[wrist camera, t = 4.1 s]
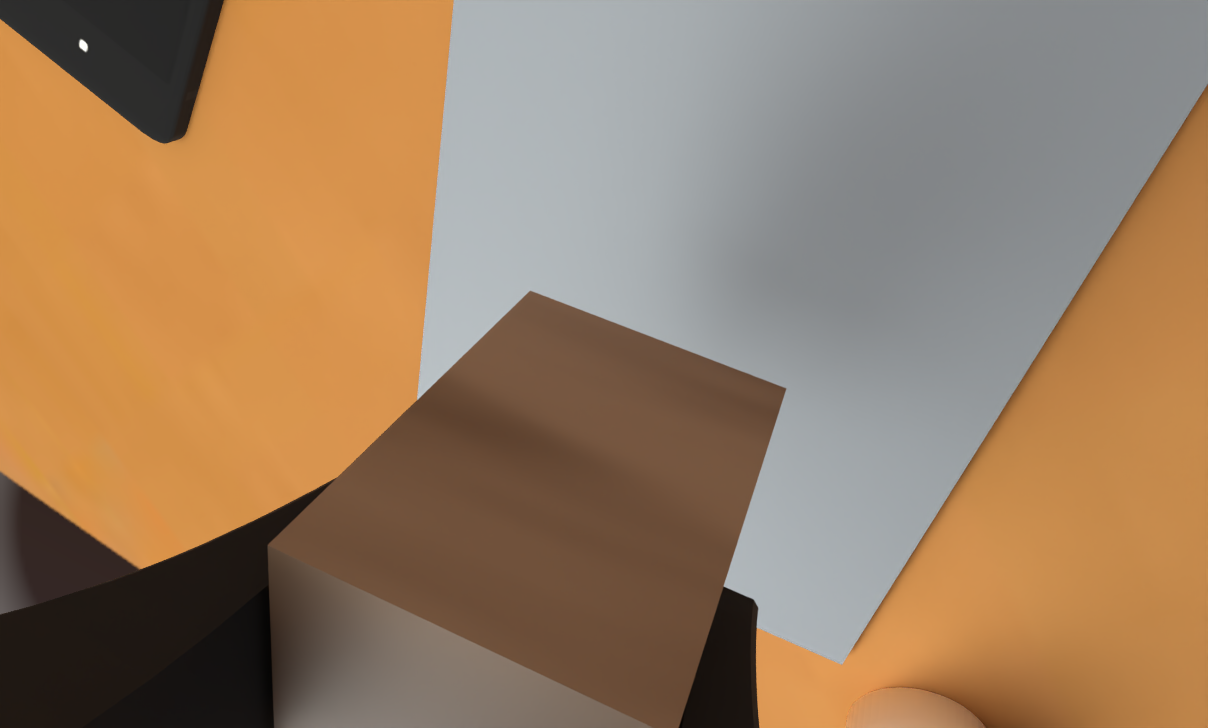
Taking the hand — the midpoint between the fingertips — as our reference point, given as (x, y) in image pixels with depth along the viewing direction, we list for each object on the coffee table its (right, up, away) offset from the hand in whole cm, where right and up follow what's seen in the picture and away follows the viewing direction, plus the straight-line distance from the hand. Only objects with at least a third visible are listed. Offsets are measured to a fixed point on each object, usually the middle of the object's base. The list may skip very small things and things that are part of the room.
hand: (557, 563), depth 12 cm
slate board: (+3, +4, +7) cm, 9 cm away
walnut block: (+1, +2, +2) cm, 3 cm away
